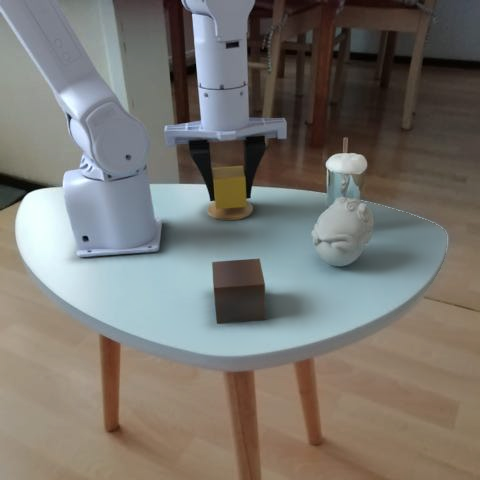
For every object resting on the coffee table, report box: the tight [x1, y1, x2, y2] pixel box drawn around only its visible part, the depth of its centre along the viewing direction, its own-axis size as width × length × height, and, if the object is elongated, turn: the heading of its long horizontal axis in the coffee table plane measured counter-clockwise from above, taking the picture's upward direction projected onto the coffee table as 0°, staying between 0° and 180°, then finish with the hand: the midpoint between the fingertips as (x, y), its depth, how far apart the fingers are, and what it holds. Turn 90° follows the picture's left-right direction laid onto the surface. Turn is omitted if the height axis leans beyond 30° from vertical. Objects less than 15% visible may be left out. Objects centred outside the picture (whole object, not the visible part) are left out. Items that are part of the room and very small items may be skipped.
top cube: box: [211, 165, 247, 209], centre depth 63 cm, size 4×4×4 cm
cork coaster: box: [207, 200, 254, 222], centre depth 65 cm, size 6×6×1 cm
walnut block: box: [211, 257, 266, 324], centre depth 47 cm, size 5×5×4 cm
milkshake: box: [325, 137, 368, 210], centre depth 57 cm, size 4×5×10 cm
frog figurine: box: [311, 197, 375, 267], centre depth 52 cm, size 6×7×7 cm
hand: (229, 196), depth 64 cm, fingers closed on top cube, 4 cm apart
